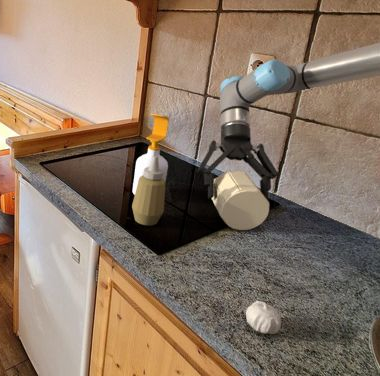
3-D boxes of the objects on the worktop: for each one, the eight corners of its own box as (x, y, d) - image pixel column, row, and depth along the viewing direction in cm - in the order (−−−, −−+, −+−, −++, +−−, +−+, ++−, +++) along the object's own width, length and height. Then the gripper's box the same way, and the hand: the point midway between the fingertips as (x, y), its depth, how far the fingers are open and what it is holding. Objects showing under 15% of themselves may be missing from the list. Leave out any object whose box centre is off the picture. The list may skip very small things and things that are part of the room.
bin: (274, 193, 98) (257, 172, 110) (227, 189, 99) (215, 169, 111) (262, 232, 103) (247, 208, 114) (217, 227, 104) (207, 204, 116)
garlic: (235, 320, 74) (241, 297, 72) (257, 312, 76) (264, 290, 74) (262, 343, 69) (270, 320, 67) (285, 335, 71) (293, 312, 69)
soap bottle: (127, 195, 120) (137, 114, 110) (139, 185, 127) (150, 107, 116) (156, 203, 116) (169, 119, 105) (167, 192, 122) (180, 112, 112)
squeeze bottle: (137, 210, 112) (146, 148, 104) (166, 219, 107) (177, 155, 100) (125, 221, 106) (133, 157, 98) (154, 231, 101) (165, 165, 94)
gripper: (276, 138, 116) (281, 208, 109) (186, 131, 119) (185, 199, 112) (288, 125, 109) (294, 199, 102) (192, 119, 112) (192, 190, 105)
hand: (237, 199), depth 107 cm, fingers open, 13 cm apart
